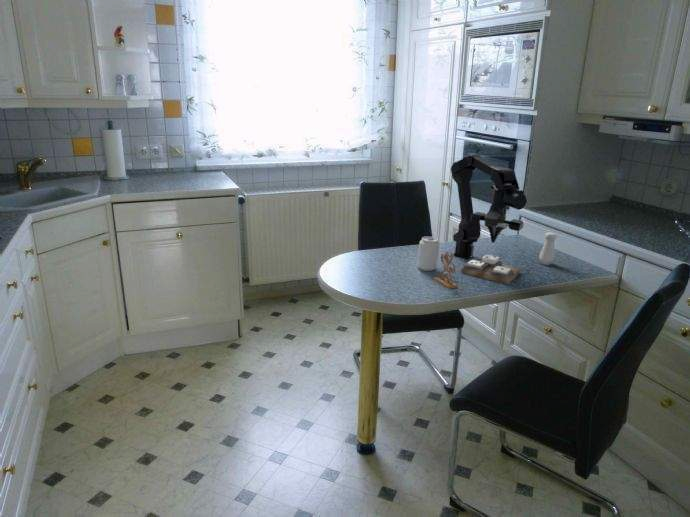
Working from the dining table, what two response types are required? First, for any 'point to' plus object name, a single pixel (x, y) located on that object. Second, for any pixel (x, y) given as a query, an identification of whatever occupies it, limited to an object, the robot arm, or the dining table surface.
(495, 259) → the tile two
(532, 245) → the dining table surface
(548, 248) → the salt shaker
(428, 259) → the can
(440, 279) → the figurine on base
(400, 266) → the dining table surface
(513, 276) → the board
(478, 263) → the tile three
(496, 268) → the tile one
